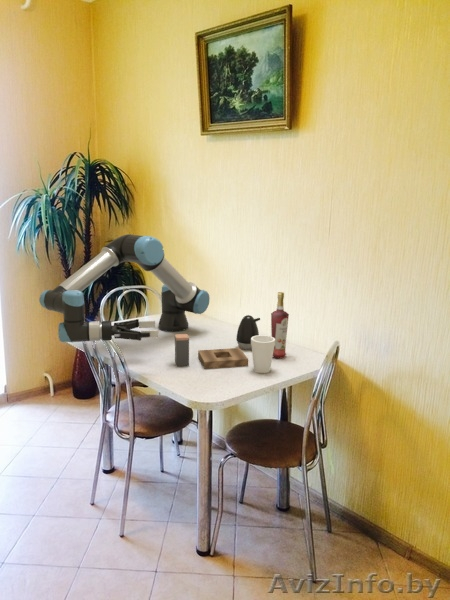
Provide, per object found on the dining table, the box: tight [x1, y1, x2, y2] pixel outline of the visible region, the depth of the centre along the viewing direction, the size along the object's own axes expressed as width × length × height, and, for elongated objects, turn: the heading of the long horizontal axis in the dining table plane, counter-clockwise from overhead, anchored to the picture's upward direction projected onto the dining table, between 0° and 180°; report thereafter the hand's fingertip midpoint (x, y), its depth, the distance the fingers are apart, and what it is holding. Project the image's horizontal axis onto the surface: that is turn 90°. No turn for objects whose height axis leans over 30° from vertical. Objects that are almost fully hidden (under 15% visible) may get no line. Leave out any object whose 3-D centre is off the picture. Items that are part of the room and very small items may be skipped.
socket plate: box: [197, 347, 249, 370], centre depth 199 cm, size 18×14×3 cm
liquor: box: [270, 291, 290, 359], centre depth 203 cm, size 7×7×28 cm
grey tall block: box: [174, 333, 190, 368], centre depth 194 cm, size 5×5×12 cm
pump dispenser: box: [236, 314, 261, 351], centre depth 215 cm, size 10×10×15 cm
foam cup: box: [251, 334, 275, 374], centre depth 189 cm, size 10×9×13 cm
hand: (156, 328), depth 189 cm, fingers open, 13 cm apart
